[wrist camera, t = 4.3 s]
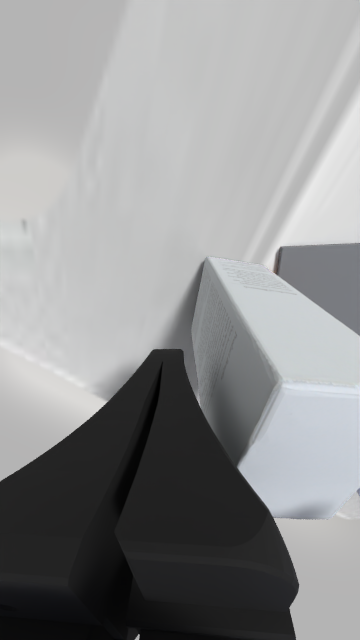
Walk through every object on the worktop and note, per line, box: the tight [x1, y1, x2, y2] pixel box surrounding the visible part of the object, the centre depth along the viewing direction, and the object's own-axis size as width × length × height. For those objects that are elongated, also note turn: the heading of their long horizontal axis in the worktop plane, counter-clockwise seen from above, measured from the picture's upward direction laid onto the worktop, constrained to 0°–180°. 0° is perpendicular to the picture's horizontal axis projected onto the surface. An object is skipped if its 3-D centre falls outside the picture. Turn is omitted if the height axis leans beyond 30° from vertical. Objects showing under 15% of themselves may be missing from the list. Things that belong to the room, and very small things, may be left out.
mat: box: [277, 243, 360, 336], centre depth 16 cm, size 7×10×1 cm, turn 93°
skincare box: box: [191, 256, 360, 519], centre depth 11 cm, size 6×4×12 cm
